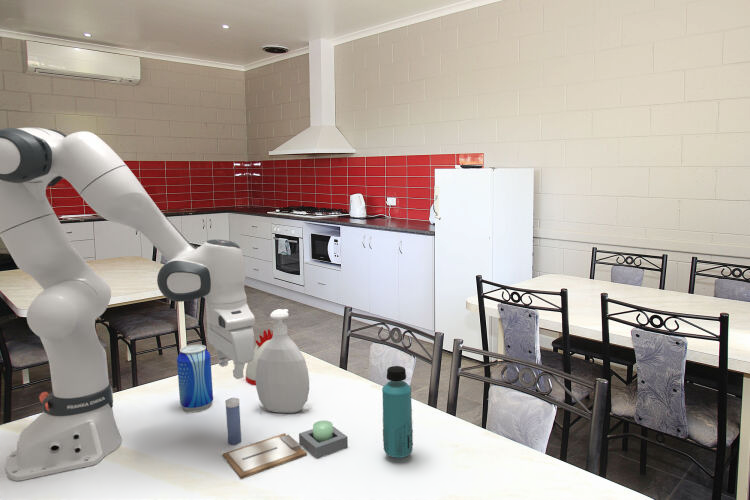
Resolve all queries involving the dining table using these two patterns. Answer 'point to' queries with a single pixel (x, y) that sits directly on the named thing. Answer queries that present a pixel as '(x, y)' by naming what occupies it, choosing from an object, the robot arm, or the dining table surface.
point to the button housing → (323, 443)
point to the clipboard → (264, 455)
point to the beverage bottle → (397, 414)
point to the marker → (233, 421)
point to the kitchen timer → (257, 351)
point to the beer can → (194, 378)
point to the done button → (322, 431)
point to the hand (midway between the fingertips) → (230, 371)
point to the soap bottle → (282, 371)
